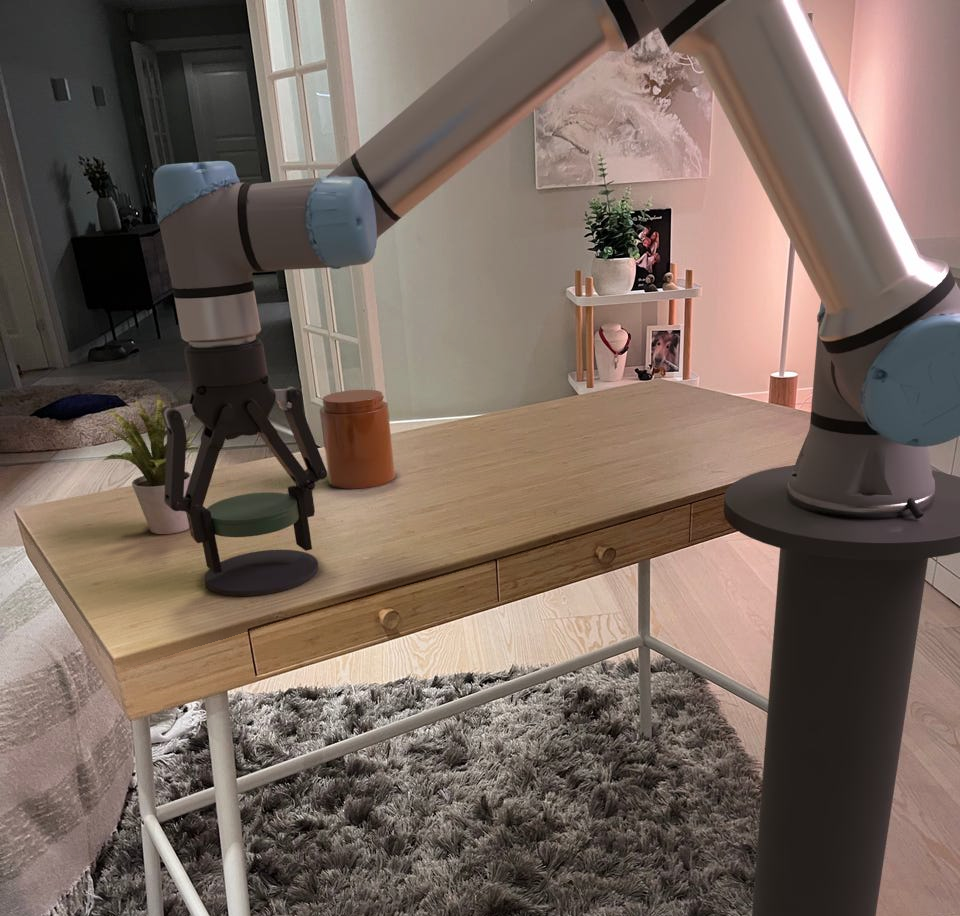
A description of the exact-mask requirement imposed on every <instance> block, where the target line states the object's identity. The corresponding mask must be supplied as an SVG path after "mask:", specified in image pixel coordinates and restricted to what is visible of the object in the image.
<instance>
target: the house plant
mask: <svg viewBox="0 0 960 916" xmlns="http://www.w3.org/2000/svg"><path fill="white" fill-rule="evenodd" d="M133 397H134V401H135V402H136V405H137V407H138V409H139V412H140V413H137V416H139V417H140V418H141V420H142V422H143V423H144V425H145V429H146V433H147V437H148V439H149V442H150V450H149V447H148V445H147V443H146V441H145V439H144V438H143V436H142V435H141V433H140V430H139V429H138V427H137V425H136V424H135V423H134V422H133V420H130V422H129V420H127V419H126V418H124V417H122V416H121V415H119V414H118V413H117V412H115V411H112V410H109V409H106V411H107V412H108V414H110V415H111V417H112V418H114V419H115V421H116V422H117V423H118V425H119V426H120V427H121V429H122V430H123V433H124V434H125V435H126V436H125V435H124V434H122V433H121V432H119V431H118V430H116V429H115V428H113V427H111V426H109V425H108V424H105V423H101V422H100V425H102V426H103V427H105V428H107V429H109V430H110V431H111V432H113V434H114V435H116V436H118V438H120V439H122V440H123V441H124V443H126V444H127V445H128V446H129V447H130V448H131V452H127V451H126V452H123V453H120V454H117V453H114V454H110V455H107V456H105V457H104V459H103V460H102V462H104V461H108V460H124V461H128V462H130V463H132V464H133V465H135V467H137V469H138V470H139V471H140V472H141V474H142V475H141V476H139V477H136V478H135V479H134V480H132V481H131V485H132V488H133V490H134V493H135V495H136V498H137V502H138V504H139V505H140V508H141V511H142V513H143V516H144V518H145V521H146V522H147V525H148V529H149V530H150V532H151V533H153V534H157V535H172V534H177V533H181V532H184V531H187V530H190V528H189V523H188V519H187V514H186V512H185V511H174V510H172V509H171V508H170V507H169V506H168V505H167V504H166V503H165V501H164V494H165V472H166V450H167V442H166V443H165V438H166V437H167V429H166V425H165V422H164V419H163V415H162V409H163V408H164V407H166V406H165V405H166V403H165V400H163V401H162V398H161V396H160V393H158V394H157V399H156V409H155V412H154V417H153V420H151V419H150V416H149V415H148V413H147V412H146V410H145V408H144V407H143V405H142V403H141V402H140V401H139V399H137V397H135V396H133ZM194 420H196V417H195V418H190V425H193V424H195V422H191V421H194ZM200 433H201V431H200V432H195V433H193V434H190V435H188V436H186V452H187V451H191V452H190V453H189V454H188V456H187V457H185V461H186V460H187V459H188V458H189V457H190V455H191V454H192V453H193V452H194V451H196V450H198V451H199V448H200V445H197V444H196V443H190V442H189V441H190V439H191V438H192V437H194V436H196V435H198V434H200ZM193 445H194V446H193ZM191 474H192V473H190V472H189V471H185V476H184V496H183V497H185V494H186V491H187V487H188V484H189V481H190V478H191Z"/></svg>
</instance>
